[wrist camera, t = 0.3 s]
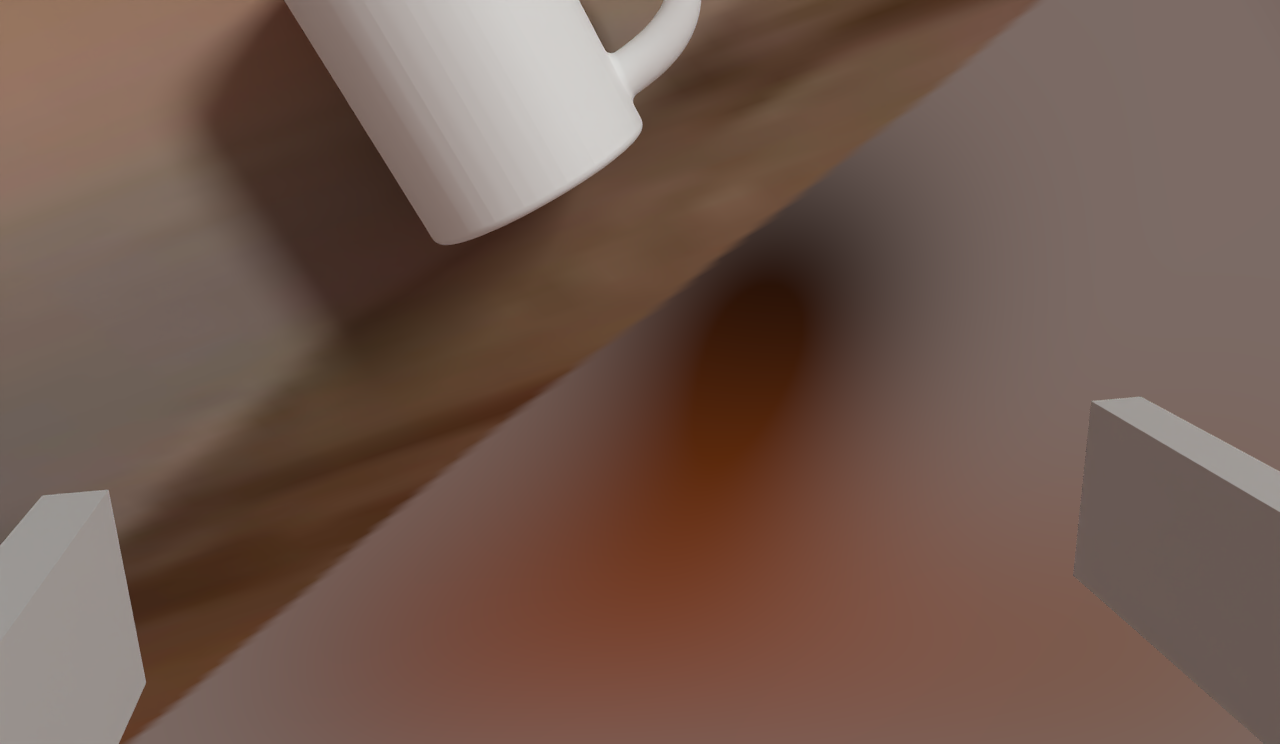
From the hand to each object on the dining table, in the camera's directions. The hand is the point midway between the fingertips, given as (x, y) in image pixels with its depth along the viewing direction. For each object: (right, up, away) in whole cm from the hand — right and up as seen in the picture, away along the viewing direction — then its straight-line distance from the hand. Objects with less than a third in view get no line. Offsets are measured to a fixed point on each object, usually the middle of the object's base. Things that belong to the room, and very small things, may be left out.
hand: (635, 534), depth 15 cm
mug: (-5, +15, +24) cm, 29 cm away
